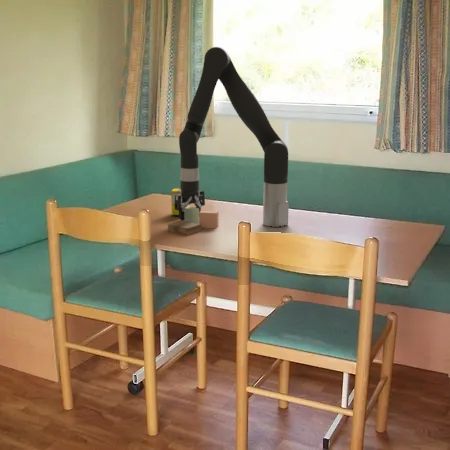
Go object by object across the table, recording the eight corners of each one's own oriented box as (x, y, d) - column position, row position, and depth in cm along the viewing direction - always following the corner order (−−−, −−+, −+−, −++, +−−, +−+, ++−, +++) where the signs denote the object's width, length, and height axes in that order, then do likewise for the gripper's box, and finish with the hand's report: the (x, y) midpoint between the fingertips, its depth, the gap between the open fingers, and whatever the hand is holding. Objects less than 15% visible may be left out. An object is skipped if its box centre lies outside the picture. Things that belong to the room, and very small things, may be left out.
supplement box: (187, 213, 271) (187, 188, 269) (185, 216, 266) (185, 191, 263) (174, 213, 272) (173, 187, 269) (171, 216, 266) (171, 190, 263)
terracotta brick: (218, 225, 252) (218, 211, 251) (216, 228, 249) (216, 213, 247) (201, 225, 253) (201, 210, 252) (199, 227, 250) (199, 212, 249)
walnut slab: (201, 231, 245) (201, 224, 245) (188, 236, 239) (188, 228, 238) (181, 227, 251) (181, 220, 250) (168, 231, 245) (167, 224, 244)
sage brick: (199, 223, 256) (199, 208, 255) (192, 224, 254) (192, 210, 252) (187, 220, 261) (187, 205, 259) (181, 221, 258) (180, 207, 257)
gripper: (182, 182, 245) (182, 223, 249) (209, 177, 255) (209, 216, 259) (169, 179, 250) (170, 219, 255) (196, 175, 260) (196, 213, 264)
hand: (190, 218), depth 257 cm, fingers open, 8 cm apart
